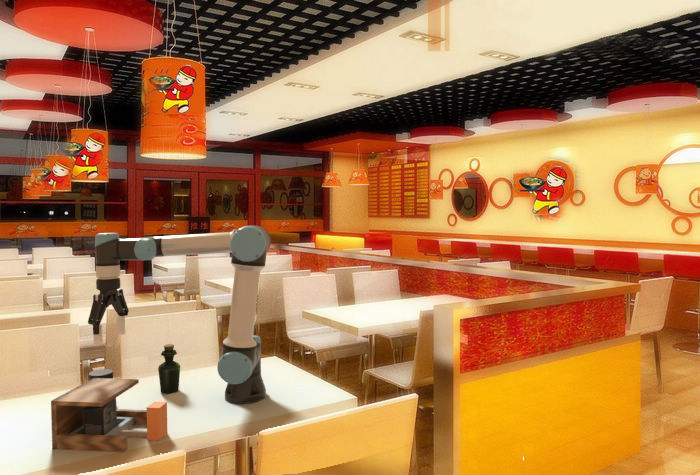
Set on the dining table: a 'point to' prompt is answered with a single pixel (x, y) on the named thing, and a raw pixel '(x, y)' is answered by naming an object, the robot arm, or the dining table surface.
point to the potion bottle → (169, 371)
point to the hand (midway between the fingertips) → (110, 338)
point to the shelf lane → (71, 415)
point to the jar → (101, 374)
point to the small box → (100, 418)
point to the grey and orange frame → (154, 430)
